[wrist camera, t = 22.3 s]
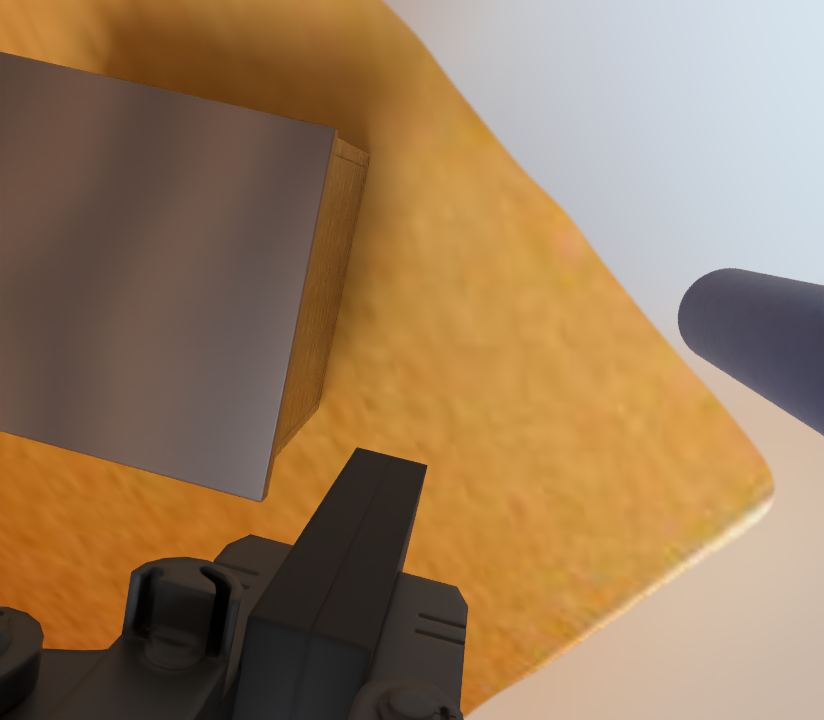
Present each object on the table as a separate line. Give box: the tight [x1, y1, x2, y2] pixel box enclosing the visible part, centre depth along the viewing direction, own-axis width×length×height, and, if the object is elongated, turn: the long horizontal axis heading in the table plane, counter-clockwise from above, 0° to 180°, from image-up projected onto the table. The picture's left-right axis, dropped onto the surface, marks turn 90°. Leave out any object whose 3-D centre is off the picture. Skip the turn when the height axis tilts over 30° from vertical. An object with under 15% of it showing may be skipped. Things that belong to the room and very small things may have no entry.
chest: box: [275, 138, 370, 457], centre depth 39 cm, size 18×17×14 cm
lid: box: [0, 52, 339, 502], centre depth 32 cm, size 19×17×1 cm
